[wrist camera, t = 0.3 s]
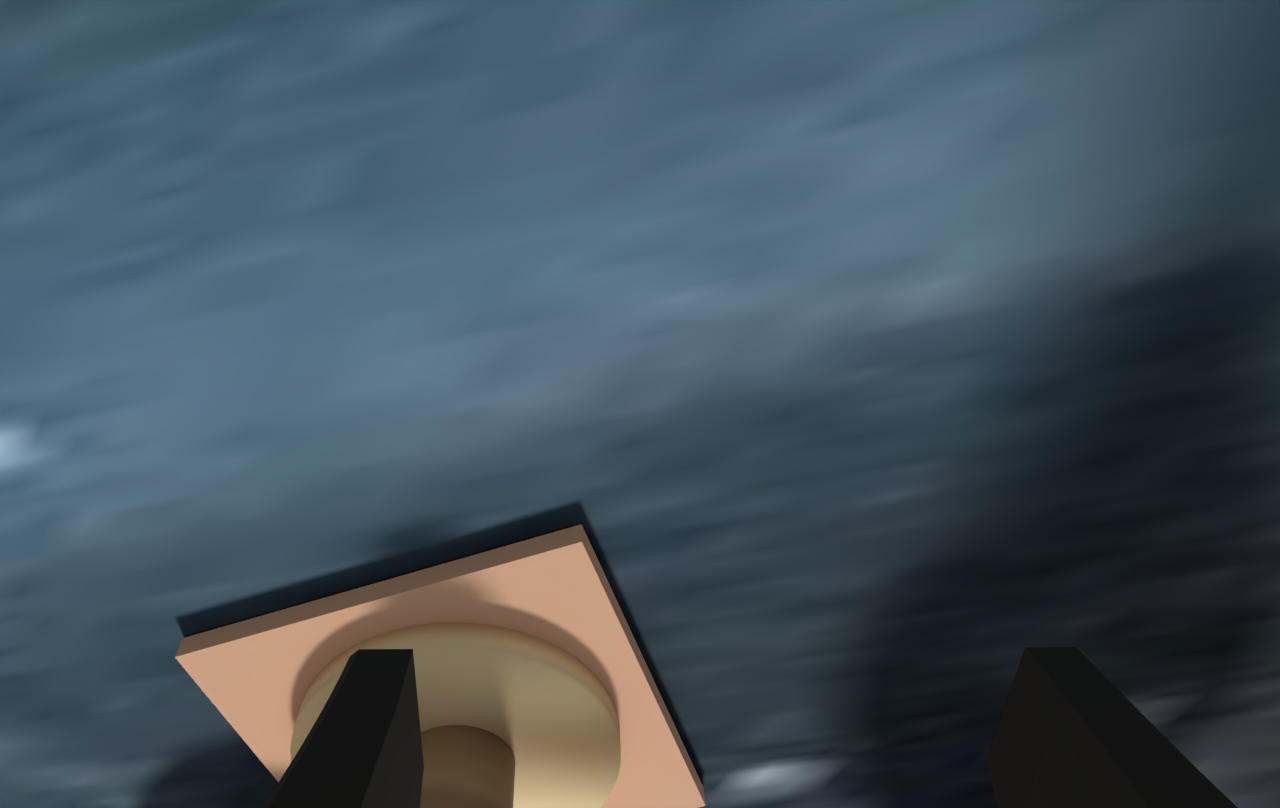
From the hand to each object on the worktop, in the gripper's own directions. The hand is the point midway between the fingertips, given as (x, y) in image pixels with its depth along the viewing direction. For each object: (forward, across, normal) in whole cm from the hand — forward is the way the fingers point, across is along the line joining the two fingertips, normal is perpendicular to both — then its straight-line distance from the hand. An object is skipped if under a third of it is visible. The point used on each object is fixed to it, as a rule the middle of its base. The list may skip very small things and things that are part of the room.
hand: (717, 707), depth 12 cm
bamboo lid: (+9, +4, +12) cm, 16 cm away
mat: (+10, +4, +12) cm, 16 cm away
